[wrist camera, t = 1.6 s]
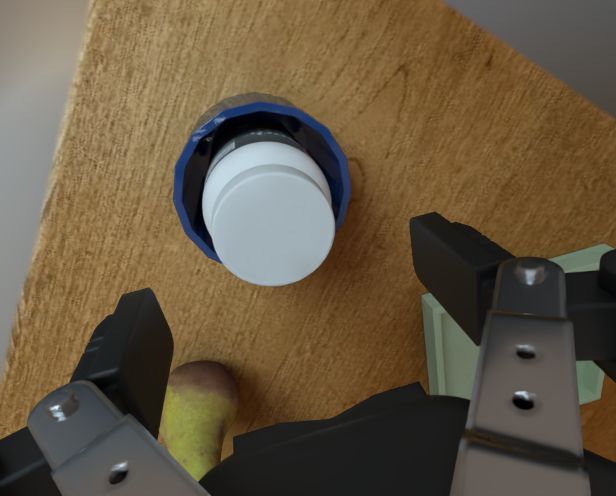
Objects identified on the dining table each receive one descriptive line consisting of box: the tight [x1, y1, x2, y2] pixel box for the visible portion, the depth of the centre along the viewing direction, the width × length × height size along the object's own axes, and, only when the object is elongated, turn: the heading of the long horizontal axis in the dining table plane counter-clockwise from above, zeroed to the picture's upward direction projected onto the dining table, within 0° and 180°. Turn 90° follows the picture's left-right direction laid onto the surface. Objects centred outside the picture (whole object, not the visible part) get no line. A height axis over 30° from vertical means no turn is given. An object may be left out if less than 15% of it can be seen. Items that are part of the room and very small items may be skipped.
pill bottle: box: [202, 121, 335, 286], centre depth 20 cm, size 6×6×10 cm
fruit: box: [159, 361, 240, 482], centre depth 25 cm, size 6×6×12 cm
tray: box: [421, 244, 614, 405], centre depth 34 cm, size 15×15×2 cm
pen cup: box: [173, 92, 351, 264], centre depth 22 cm, size 8×8×6 cm
